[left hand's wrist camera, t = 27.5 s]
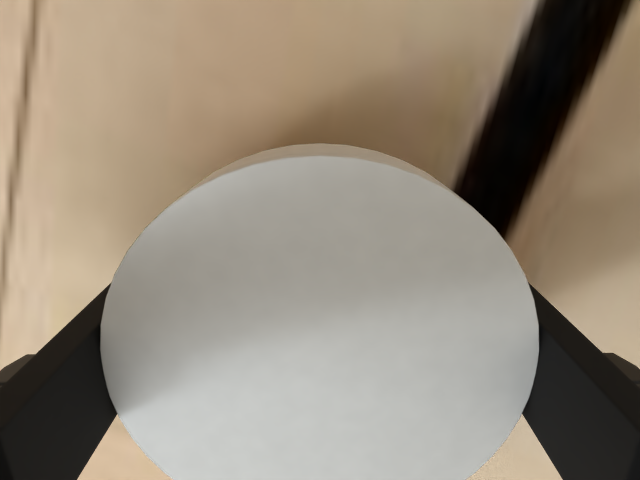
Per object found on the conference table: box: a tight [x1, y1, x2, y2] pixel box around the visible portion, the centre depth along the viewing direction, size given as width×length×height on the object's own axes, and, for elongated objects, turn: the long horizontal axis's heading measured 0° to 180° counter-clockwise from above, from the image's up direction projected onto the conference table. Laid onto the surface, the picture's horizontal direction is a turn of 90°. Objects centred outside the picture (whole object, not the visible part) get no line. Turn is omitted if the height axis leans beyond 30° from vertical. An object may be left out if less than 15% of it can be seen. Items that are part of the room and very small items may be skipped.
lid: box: [100, 143, 539, 480], centre depth 11 cm, size 11×11×2 cm
